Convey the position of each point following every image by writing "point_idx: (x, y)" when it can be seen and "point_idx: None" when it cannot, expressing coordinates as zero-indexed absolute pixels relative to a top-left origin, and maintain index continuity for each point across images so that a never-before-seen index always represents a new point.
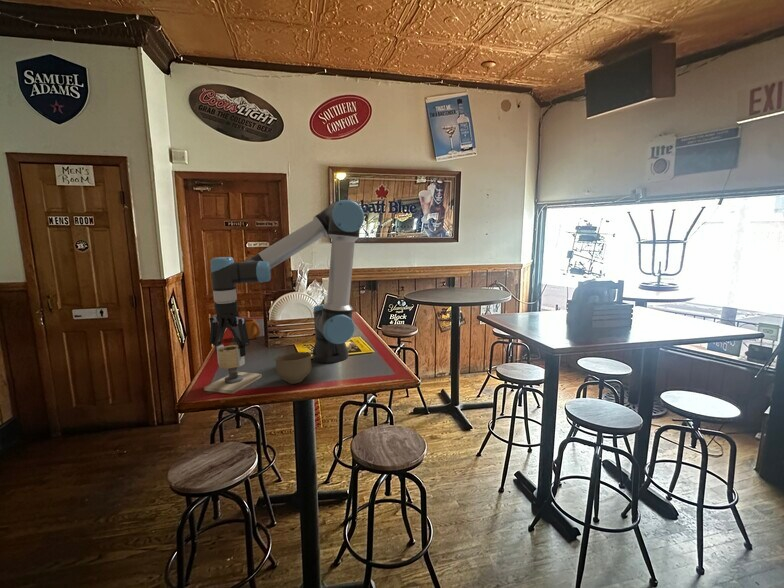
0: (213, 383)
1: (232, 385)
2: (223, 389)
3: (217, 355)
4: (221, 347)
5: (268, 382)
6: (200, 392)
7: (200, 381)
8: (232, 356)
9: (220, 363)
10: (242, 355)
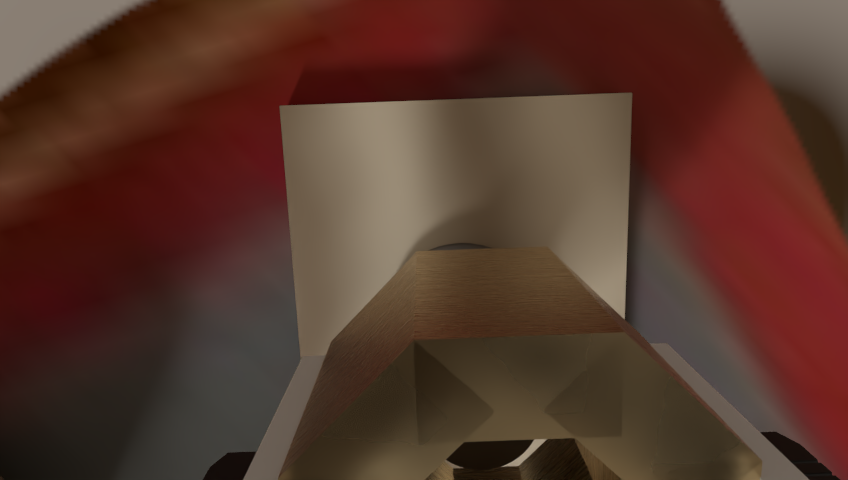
0: (607, 201)
1: (377, 212)
2: (390, 103)
3: (722, 401)
4: None
5: (168, 418)
6: (626, 45)
7: (825, 266)
8: (348, 371)
9: (540, 261)
10: (224, 465)
